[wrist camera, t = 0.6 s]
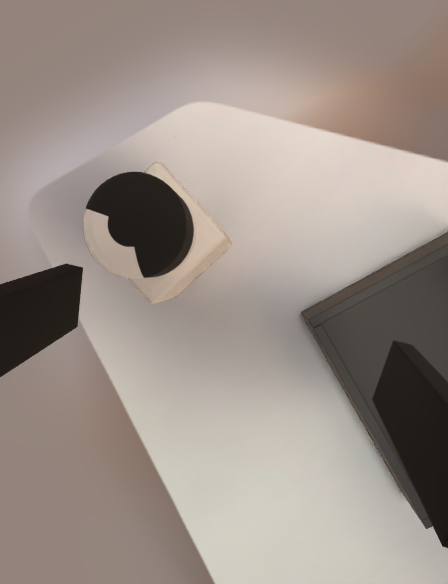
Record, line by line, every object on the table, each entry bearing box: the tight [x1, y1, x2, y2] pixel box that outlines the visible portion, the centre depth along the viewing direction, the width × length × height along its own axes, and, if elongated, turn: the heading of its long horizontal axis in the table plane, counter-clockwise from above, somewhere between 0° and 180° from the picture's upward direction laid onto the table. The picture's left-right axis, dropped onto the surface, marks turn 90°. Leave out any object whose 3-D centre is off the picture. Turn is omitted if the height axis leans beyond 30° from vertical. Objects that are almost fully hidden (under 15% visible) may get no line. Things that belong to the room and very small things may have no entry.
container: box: [83, 162, 232, 304], centre depth 28 cm, size 8×8×13 cm
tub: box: [301, 233, 448, 529], centre depth 31 cm, size 20×16×5 cm
